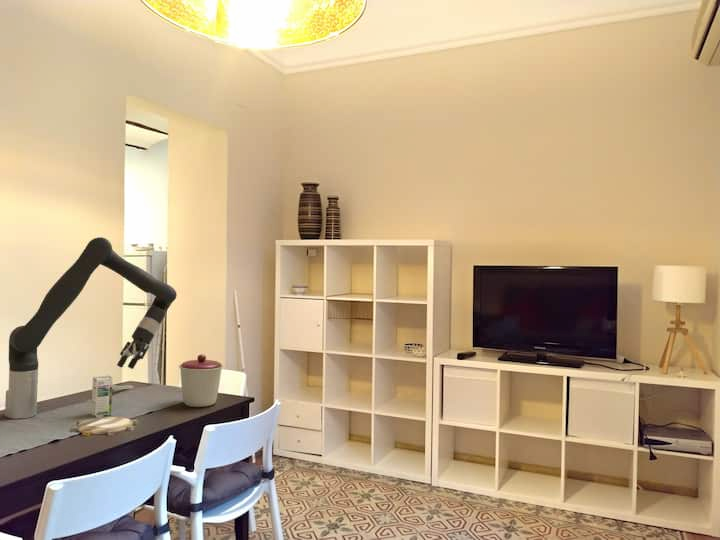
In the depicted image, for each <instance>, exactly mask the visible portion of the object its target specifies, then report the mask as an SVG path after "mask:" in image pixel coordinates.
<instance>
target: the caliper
mask: <svg viewBox="0 0 720 540" xmlns="http://www.w3.org/2000/svg"><path fill="white" fill-rule="evenodd" d="M133 388H135V387H134V386H133V385H117V384H112V392H118V390H132V389H133Z"/></svg>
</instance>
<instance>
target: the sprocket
mask: <svg viewBox="0 0 720 540" xmlns="http://www.w3.org/2000/svg"><path fill="white" fill-rule="evenodd" d="M77 424H78V425H77ZM138 424H139V420H138V419H130V418H127V416H126V415H125V416H124V415H120V416H99V417H95V418H91V419H87V420H86V419H85V420H83V419H82V420H78V421H76V425H77V426H70V427H71V428H70V431H71V430H72V431H71V432H79V433H81V434H82V435H81V436H87V437H89V436H91V435H107V436H114V435H115V434H116V433H121V431H122V432H124V431H134V430H135V426H134V425H138ZM76 430H78V431H76Z"/></svg>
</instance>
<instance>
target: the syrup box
mask: <svg viewBox="0 0 720 540" xmlns="http://www.w3.org/2000/svg"><path fill="white" fill-rule="evenodd" d="M112 385H113V377H112V376H110V375H101V376H93V377H92V387H91V389H92V393H91V395H92V396H91V398H92V399H91V414H92V415H93V416H94V415H95V416H103V415H107V416H111V415H112V404H113V403H112V401H113V400H112V399H113V391H112ZM110 414H111V415H110ZM95 416H94V417H95ZM103 417H104V416H103Z"/></svg>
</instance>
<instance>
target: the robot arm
mask: <svg viewBox="0 0 720 540" xmlns="http://www.w3.org/2000/svg"><path fill="white" fill-rule="evenodd" d="M100 265H101V266H103V267H105V268H107V269H108V270H109V269H110V270H111V271H112V272H115V274H118V275H119V276H120V277H122V278H124V279H125V280H127V281H128V282H129V283H131V284H132V285H133V286H135V287H136V288H138V289H140V290H141V291H142V292H144V293H147V294H152V295H153V296H155V297H154V299H153V302H151V303H152V304H151V305H150V307H149V308H148V310H147V311H146V313H145V314H144V316H143V317H142V319H141V320H140V321H139V322H138V324H137V327H136V328H135V330H134V331H133V333H132V334H131V339H133V340H132V341H131V342H130V341H127V342H126V344H125V345H124V346H123V348H122V350H121V351H120V353H119V355H120V359H119V361H118V362H117V363H116V366H117V367H119V368H124V365H125V364H126V362H127V360H128V359H129V358H130V357H132V358H131V360H130V362H129V363H128V365H127V367H128V368H129V369H132V370H134V368H135V366H136V365H137V363H138V362H139V361H140V360H143V359H144V357H145V355H146V353H147V352H148V350H149V348H150V344H151V342H152V341H153V339H154V338H155V335H156V333H157V332H158V329H159V327H160V325H161V324H162V322H163V320H164V318H165V317H166V313H167V312H168V310H169V308H170V307H171V305H172V304H173V302H174V301H175V300H176V298H177V296H178V295H177V291H176V290H175V289H174V288H173V286H171V285H170V284H168V283H166V282H164V281H162V280H159V279H157V278H156V277H154V276H153V275H151V274H150V273H149V272H147V271H146V270H145V269H143V268H141V267H139V266H137V265H135V264H133V263H131V262H129V261H127V260H126V259H124V258H122V257H121V255H119V254H118V253H117V252H116V251H115V250H114V249H113V245H112V243H111V242H110V240H109V239H107V238H106V237H102V236H101V237H95V238H92V239H91V240H90V241H89V242H88V243H87V244H86V246H85V248H84V249H83V250H82V253H80V255H79V257H78V258H77V259H76V260H75V262H74V263H73V264H72V265H71V266H70V267H69V268H68V269H67V270H66V271H65V272H64V273H62V275H61V276H60V277H59V279H58V280H57V281H56V282H55V283H54V284H53V285H52V286H51V288H50V289H49V290H48V291H47V293H46V294H45V296H44V298H43V299H42V302H41V304H40V305H39V307H38V309H37V311H36V312H35V314H34V315H33V316H32V317H31V318H30V320H28V321H27V323H26V324H25V325H20V326H17V327H15V328H14V329H13V330H11V332H10V335H9V338H8V364H9V365H8V366H9V367H8V389H7V390H6V391H5V404H4V405H5V408H4V417H7V418H9V419H14V420H15V419H17V420H19V419H20V418H21V419H28V418H32V417H34V415H35V416H36V415H37V407H38V406H37V405H38V385H39V383H38V382H39V359H38V348H39V346H40V345H41V344H42V342H43V341H44V339H45V337H46V336H47V334H48V333H49V331H50V330H51V328H52V327H53V325H54V324H55V323H56V322H57V321H58V320H59V318H61V317H62V316H63V314H64V313H65V312H66V311H67V310H68V309H69V308H70V306H71V305H72V304H73V303H74V301H75V300H76V299H77V298H78V297H79V296H80V294H81V292H82V291H83V290H84V288H85V286H86V284H87V282H88V281H89V280H90V277H91V275H93V273H94V271H96V269H97V268H99V266H100ZM21 419H20V420H21Z"/></svg>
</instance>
